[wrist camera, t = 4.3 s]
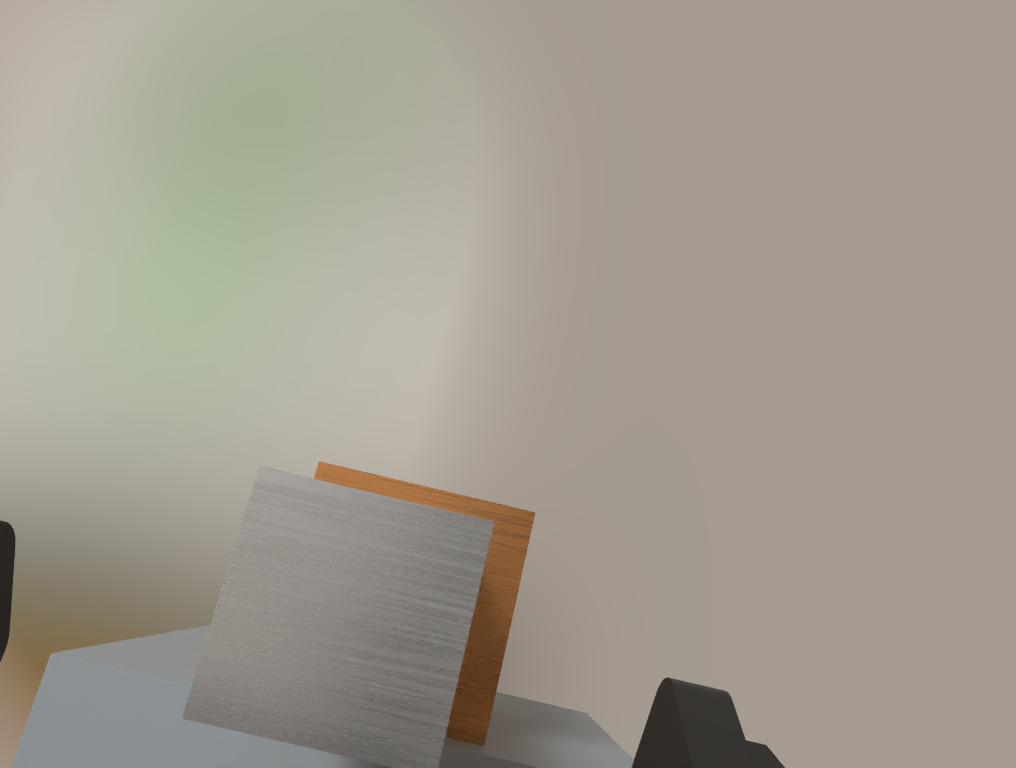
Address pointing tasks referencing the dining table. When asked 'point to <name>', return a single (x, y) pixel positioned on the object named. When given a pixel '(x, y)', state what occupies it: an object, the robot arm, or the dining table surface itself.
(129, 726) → the tall grey block
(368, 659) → the pin
